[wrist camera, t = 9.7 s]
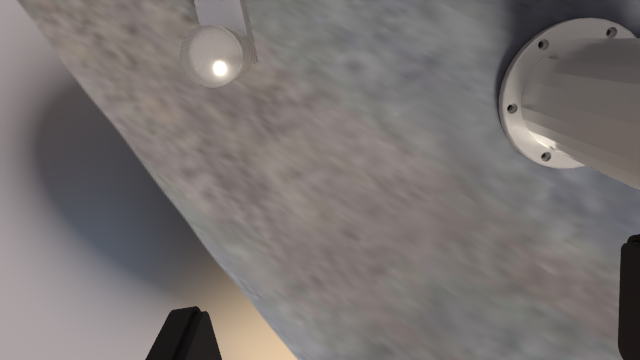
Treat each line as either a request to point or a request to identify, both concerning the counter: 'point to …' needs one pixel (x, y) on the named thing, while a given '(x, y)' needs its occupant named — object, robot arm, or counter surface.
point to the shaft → (219, 43)
